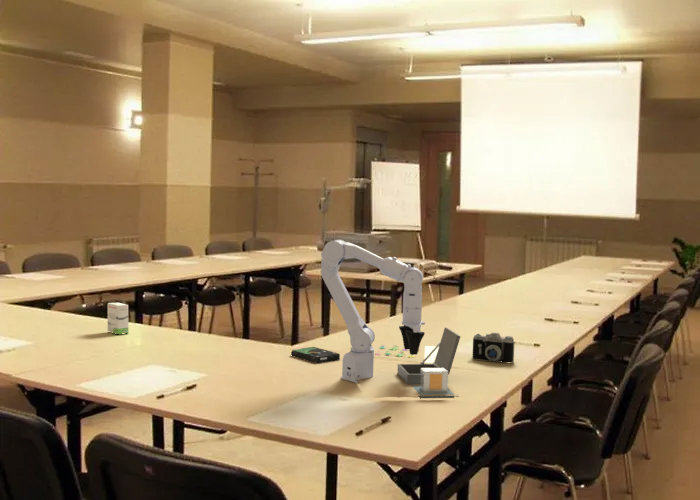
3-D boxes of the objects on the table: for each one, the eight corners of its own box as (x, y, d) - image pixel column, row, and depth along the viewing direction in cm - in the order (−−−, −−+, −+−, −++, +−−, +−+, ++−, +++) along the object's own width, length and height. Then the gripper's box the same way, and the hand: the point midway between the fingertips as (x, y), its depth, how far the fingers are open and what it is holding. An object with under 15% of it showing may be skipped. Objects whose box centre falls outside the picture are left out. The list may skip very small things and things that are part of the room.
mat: (420, 398, 215) (420, 394, 215) (412, 389, 225) (412, 386, 225) (454, 398, 216) (454, 394, 216) (444, 389, 226) (445, 385, 226)
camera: (468, 360, 268) (469, 332, 267) (473, 357, 274) (474, 329, 273) (510, 365, 262) (511, 336, 261) (514, 361, 268) (516, 333, 267)
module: (423, 392, 218) (424, 371, 217) (420, 388, 222) (420, 367, 222) (447, 392, 219) (448, 371, 218) (443, 388, 223) (444, 367, 223)
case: (407, 387, 227) (408, 335, 226) (396, 375, 241) (398, 326, 240) (458, 387, 229) (460, 335, 228) (445, 375, 244) (447, 326, 243)
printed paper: (432, 364, 262) (433, 359, 261) (347, 359, 267) (347, 355, 267) (439, 347, 291) (440, 343, 291) (362, 344, 297) (362, 340, 297)
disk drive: (340, 361, 263) (313, 353, 274) (340, 353, 263) (313, 346, 274) (317, 365, 256) (290, 357, 267) (317, 357, 256) (290, 349, 267)
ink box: (128, 334, 299) (129, 304, 298) (117, 335, 295) (117, 305, 295) (118, 331, 305) (118, 301, 304) (106, 332, 302) (106, 302, 301)
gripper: (431, 311, 226) (429, 356, 227) (419, 304, 240) (418, 346, 241) (407, 311, 225) (406, 356, 226) (397, 304, 239) (396, 346, 240)
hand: (410, 351), depth 233 cm, fingers open, 7 cm apart
